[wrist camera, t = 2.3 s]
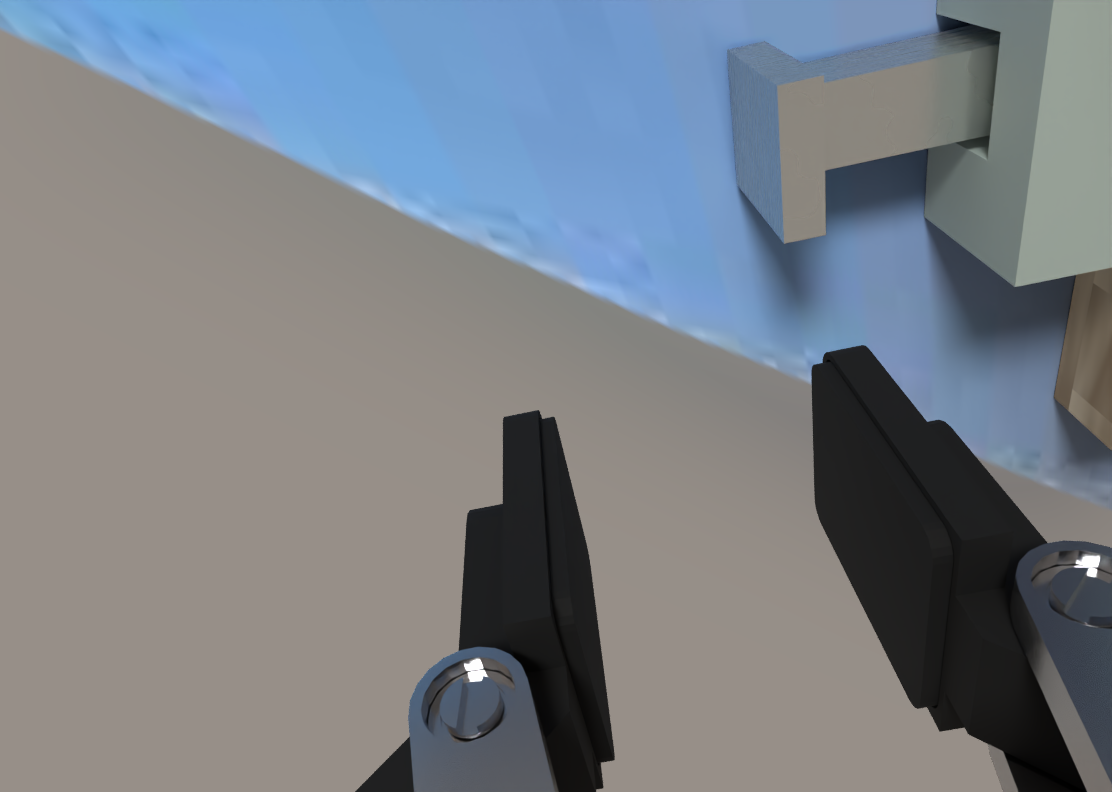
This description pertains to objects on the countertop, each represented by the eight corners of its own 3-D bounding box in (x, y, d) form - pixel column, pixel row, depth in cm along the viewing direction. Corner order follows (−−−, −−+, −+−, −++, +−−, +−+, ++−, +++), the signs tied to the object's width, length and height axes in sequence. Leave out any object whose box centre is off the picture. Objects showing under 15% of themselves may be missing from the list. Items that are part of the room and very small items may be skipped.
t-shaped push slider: (991, -11, 24) (1103, 13, 19) (977, 132, 26) (1075, 182, 22) (726, 49, 25) (777, 86, 20) (736, 184, 27) (784, 243, 22)
